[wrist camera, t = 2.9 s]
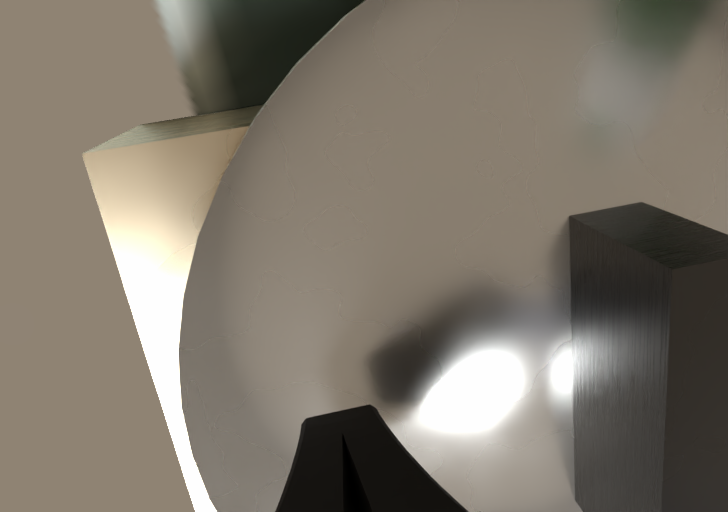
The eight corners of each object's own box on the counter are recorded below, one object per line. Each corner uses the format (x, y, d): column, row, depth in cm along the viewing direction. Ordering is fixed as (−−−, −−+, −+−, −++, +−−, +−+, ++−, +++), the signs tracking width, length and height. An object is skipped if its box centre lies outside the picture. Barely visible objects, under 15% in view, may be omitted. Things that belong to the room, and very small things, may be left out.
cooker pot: (922, 447, 24) (1081, 541, 19) (274, 608, 21) (275, 763, 17) (1091, -259, 16) (1440, -394, 11) (66, -139, 13) (-47, -251, 8)
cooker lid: (862, 541, 17) (1028, 677, 13) (277, 695, 15) (280, 900, 12) (1006, -150, 11) (1387, -258, 7) (65, -22, 9) (-74, -77, 6)
